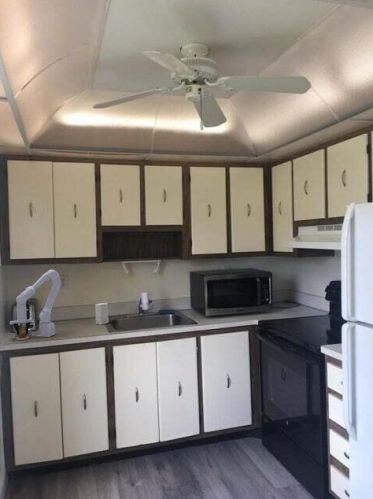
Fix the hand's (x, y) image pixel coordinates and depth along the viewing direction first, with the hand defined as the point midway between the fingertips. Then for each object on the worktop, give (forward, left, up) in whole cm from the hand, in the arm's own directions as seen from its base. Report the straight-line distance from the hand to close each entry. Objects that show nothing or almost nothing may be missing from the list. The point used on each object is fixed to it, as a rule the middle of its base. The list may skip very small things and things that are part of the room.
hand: (22, 334), depth 265 cm
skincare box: (-30, -50, -3) cm, 58 cm away
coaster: (0, 0, -3) cm, 3 cm away
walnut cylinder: (0, 0, -2) cm, 2 cm away
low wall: (+4, -5, -3) cm, 7 cm away
